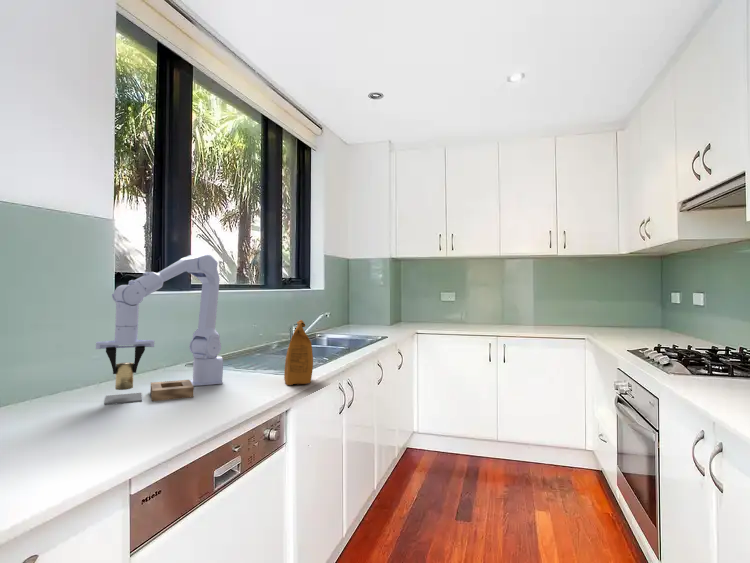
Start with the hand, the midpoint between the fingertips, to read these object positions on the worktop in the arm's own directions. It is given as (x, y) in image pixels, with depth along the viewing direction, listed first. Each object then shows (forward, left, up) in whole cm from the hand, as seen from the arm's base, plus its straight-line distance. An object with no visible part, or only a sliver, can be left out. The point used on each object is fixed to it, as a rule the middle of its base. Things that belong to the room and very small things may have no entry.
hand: (124, 372), depth 121 cm
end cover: (0, 0, -4) cm, 4 cm away
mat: (0, 0, -8) cm, 8 cm away
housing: (-13, 0, -8) cm, 15 cm away
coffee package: (-54, -1, -8) cm, 54 cm away
